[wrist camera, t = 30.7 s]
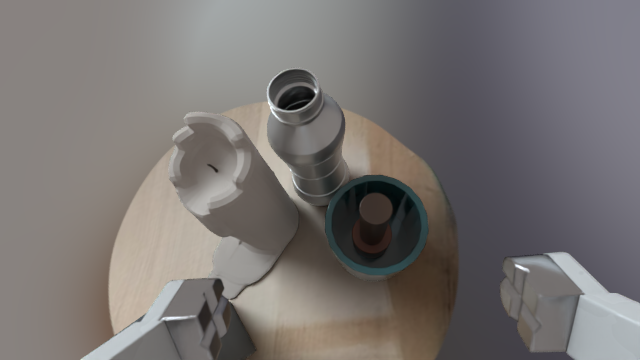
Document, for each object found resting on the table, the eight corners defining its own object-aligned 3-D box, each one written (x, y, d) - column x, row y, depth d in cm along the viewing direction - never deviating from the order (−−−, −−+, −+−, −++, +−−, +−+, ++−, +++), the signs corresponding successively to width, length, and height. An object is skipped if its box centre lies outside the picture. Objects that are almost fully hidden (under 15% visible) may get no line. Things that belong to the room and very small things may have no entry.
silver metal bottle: (287, 178, 42) (228, 81, 23) (332, 150, 43) (311, 34, 24) (313, 220, 40) (271, 151, 21) (361, 190, 41) (361, 98, 22)
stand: (257, 350, 36) (197, 379, 23) (209, 385, 35) (120, 436, 22) (230, 301, 38) (161, 302, 25) (184, 334, 37) (89, 353, 24)
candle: (193, 276, 39) (42, 255, 21) (264, 182, 42) (188, 88, 24) (240, 314, 37) (119, 327, 19) (310, 212, 40) (267, 135, 22)
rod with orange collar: (383, 219, 38) (395, 177, 25) (393, 253, 37) (410, 228, 24) (349, 226, 38) (343, 189, 25) (357, 261, 37) (355, 241, 24)
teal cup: (428, 250, 37) (450, 233, 28) (364, 298, 36) (366, 297, 27) (378, 190, 40) (383, 156, 31) (318, 233, 39) (305, 212, 30)
